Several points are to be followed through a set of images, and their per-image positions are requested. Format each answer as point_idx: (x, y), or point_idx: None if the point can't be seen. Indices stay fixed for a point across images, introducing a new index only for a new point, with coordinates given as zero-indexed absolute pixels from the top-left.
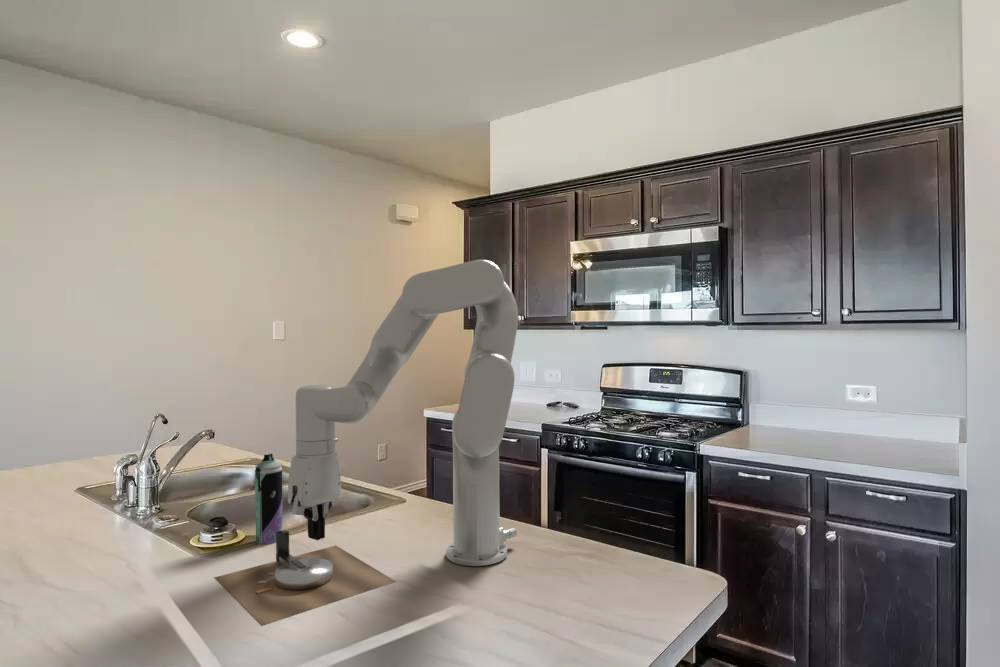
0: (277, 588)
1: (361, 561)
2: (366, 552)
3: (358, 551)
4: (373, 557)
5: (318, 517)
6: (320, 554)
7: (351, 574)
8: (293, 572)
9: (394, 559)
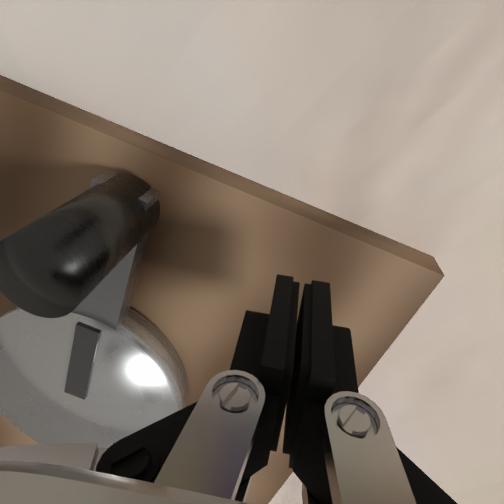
0: None
1: None
2: (474, 366)
3: (477, 334)
4: (426, 408)
5: (296, 439)
6: (304, 282)
7: None
8: (32, 385)
9: (430, 465)
